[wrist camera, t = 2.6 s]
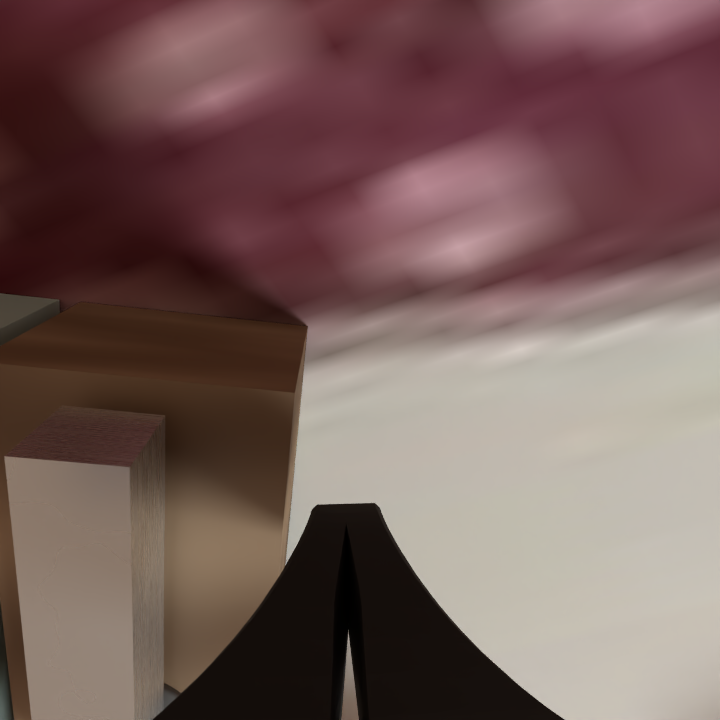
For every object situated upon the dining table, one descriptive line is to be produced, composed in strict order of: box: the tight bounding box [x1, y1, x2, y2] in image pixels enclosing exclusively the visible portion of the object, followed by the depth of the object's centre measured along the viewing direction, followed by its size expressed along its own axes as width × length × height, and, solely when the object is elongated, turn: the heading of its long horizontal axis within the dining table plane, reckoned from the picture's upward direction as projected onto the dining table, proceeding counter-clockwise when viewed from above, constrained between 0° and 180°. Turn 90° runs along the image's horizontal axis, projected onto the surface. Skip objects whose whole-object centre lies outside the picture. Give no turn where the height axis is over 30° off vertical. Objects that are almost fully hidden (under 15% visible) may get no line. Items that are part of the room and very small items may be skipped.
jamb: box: [0, 302, 308, 720], centre depth 16 cm, size 15×6×5 cm, turn 173°
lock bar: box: [4, 406, 165, 720], centre depth 12 cm, size 11×3×3 cm, turn 173°
